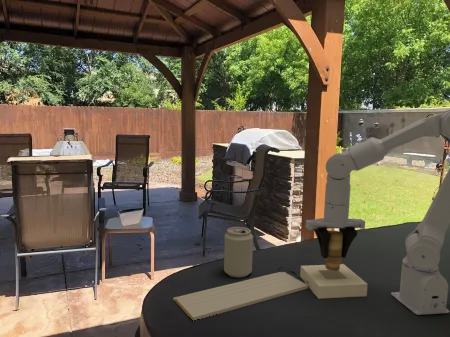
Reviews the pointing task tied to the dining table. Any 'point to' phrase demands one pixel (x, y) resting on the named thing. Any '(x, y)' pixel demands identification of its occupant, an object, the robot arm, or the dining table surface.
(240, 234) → the can
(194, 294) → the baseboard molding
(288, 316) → the dining table surface
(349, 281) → the socket board
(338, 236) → the oak peg
